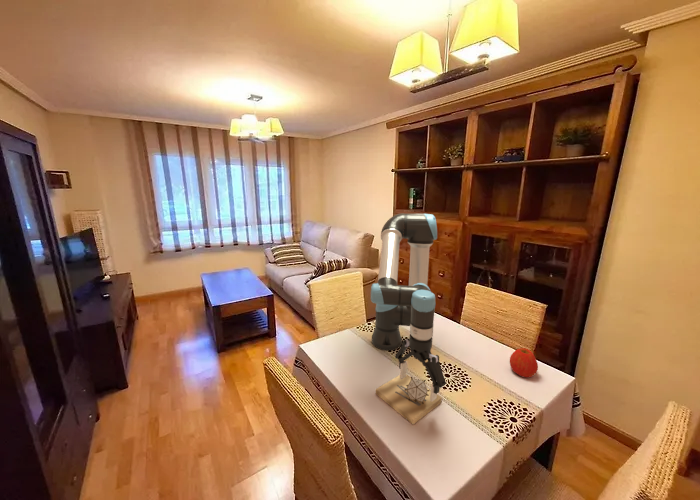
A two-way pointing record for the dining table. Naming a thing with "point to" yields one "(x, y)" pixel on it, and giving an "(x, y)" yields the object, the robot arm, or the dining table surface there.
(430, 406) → the board
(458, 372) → the dining table surface
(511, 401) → the dining table surface
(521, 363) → the apple
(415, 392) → the game die
